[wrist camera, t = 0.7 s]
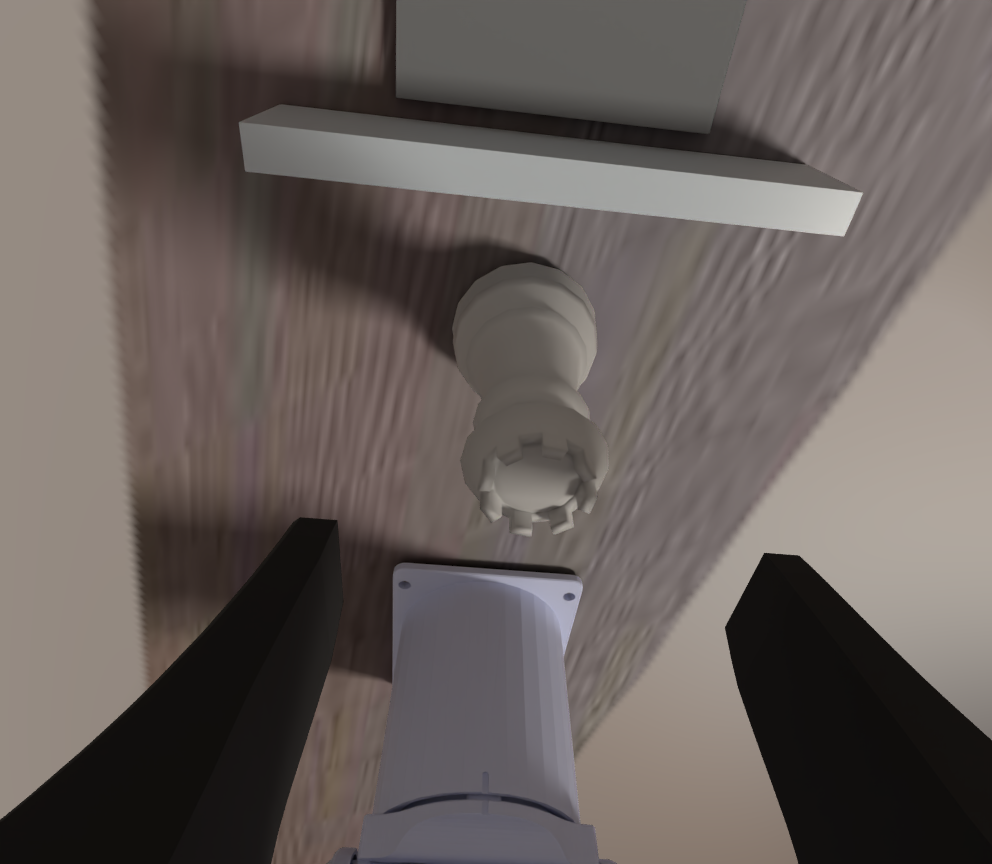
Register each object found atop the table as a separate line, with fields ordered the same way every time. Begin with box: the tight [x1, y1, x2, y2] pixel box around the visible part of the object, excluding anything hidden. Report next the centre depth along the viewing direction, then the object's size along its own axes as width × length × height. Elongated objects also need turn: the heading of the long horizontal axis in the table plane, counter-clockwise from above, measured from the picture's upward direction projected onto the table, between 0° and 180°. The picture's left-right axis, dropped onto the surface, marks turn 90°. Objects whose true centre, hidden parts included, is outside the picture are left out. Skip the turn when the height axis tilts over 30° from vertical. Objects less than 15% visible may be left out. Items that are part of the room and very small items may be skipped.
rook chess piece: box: [452, 262, 609, 537], centre depth 16 cm, size 4×4×8 cm
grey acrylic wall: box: [239, 104, 863, 236], centre depth 15 cm, size 1×14×3 cm, turn 84°
